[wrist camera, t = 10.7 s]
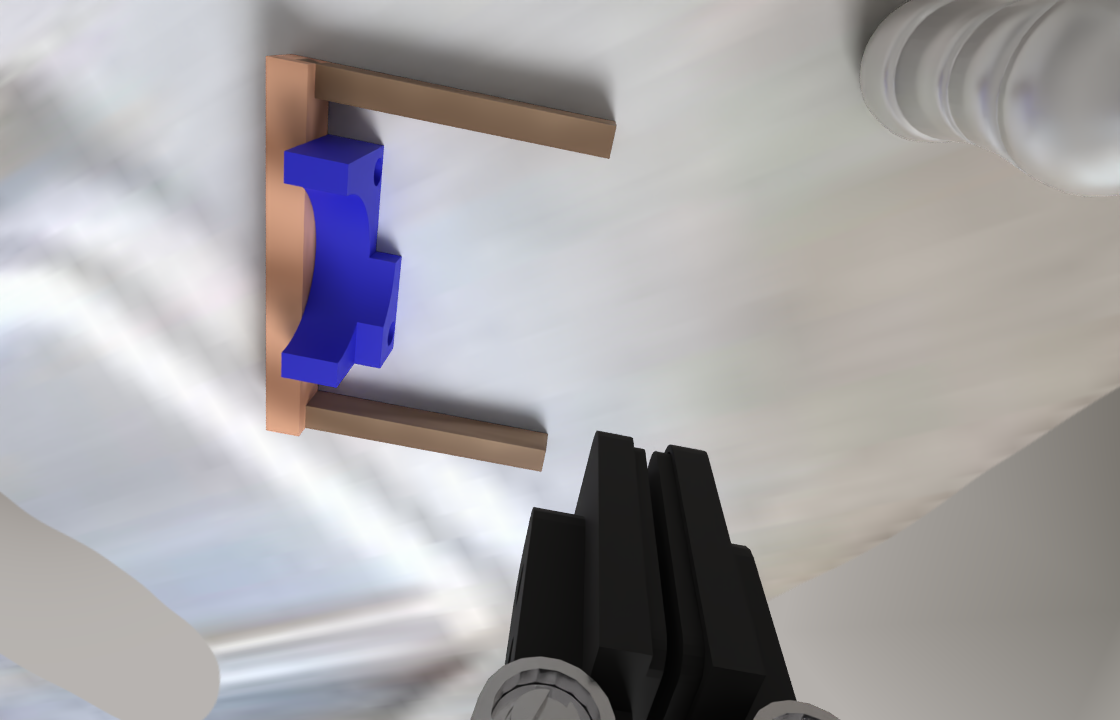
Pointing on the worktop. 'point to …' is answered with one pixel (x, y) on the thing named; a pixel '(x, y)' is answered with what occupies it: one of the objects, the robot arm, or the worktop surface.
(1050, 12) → the plastic bottle
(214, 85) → the worktop surface
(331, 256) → the cable clip
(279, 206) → the guide channel
